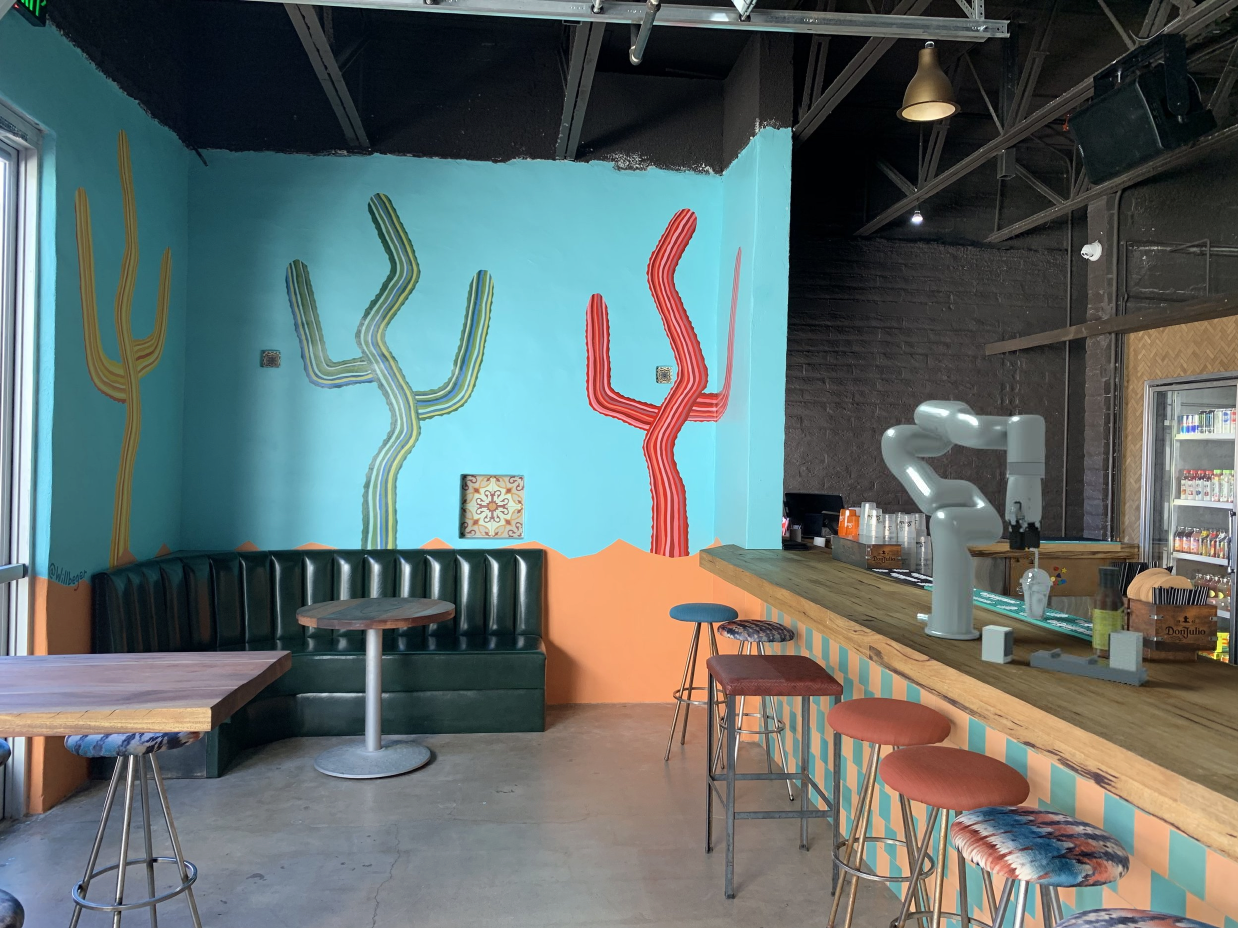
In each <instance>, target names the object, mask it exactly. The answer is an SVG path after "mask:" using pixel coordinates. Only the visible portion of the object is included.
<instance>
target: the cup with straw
mask: <svg viewBox="0 0 1238 928" xmlns="http://www.w3.org/2000/svg"><path fill="white" fill-rule="evenodd" d="M1026 549H1027V550H1028V551H1033V552H1035V555H1034V557H1035V558H1034V559H1035V560H1034V568H1030V569H1028V570H1025V572H1024V574H1023V576H1022V578H1020V579H1019V581H1018V582H1019V583H1021V584H1022V585H1021V586H1022V592H1023V595H1024V609H1025V614H1026V617H1025V618H1027V619H1031V620H1036V619H1037V621H1039V620H1041V621H1043V620H1045V616H1046V612H1047V610H1046V609H1047V606H1048V605H1047V604H1048V598H1049V595H1050V594H1049V593H1050V590H1051V586H1054V581H1053V580H1051V578H1050V576H1049V574H1048V572H1046V570H1044V569H1041V568H1039V551H1038V548H1026Z"/></svg>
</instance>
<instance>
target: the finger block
mask: <svg viewBox="0 0 1238 928" xmlns="http://www.w3.org/2000/svg"><path fill="white" fill-rule="evenodd" d="M1014 633H1015V632H1014V631H1013V628H1012V627H1005V626H1000V625H994V624H993V625H992V624H990V625H987V626H984V627H982V637H981V638H982V639H981V641H982V642H981V644H982V645H981V661H982V660H983V661H987V662H991V663H998V664H1001V665H1002V664H1005V663H1006V664H1007V663H1008V662H1011V661H1012V656H1013V655H1014V635H1015V634H1014Z"/></svg>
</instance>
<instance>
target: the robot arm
mask: <svg viewBox="0 0 1238 928" xmlns="http://www.w3.org/2000/svg"><path fill="white" fill-rule="evenodd" d="M913 419H914V422H915V424H900V425H895V426H892V427H890V428H888V429H886V431H884V433H883V435H882V437H881V442H880V443H881V444H880V445H881V453H882V457H883V460H884V463H885V464H886V467H887V468H888V469H889V471H890V472H891V473H892V475H894V476H895V478H896V479H898V481H899V482H900V483H901V484H902V486H903V487H904V488H905V490H906V491H907V493H908V494H909V495H910V497H911V499H913V501H914V503H915V504H916V505H917V506H918V508H919V509H920V510H921V511H922V513H924V514H925V515H927V516H931V517H930V519H929V533H930V534H929V535H930V539H931V545H932V590H931V592H932V593H931V594H932V595H931V596H932V597H931V613H928V614H927V613H921V612H918V614H917V616H916V619H917V622H918V623H919V622H921V623H926V624H927V625H926V626H925V627H924V633H926V634H927V635H929V636H933V637H935V638H942V639H949V640H962V641H963V640H975V639H978V638H979V637H980V631H978V630H976V629H974V596H975V594H974V593H975V590H974V589H975V563H974V559H973V557H972V555H971V553H970V551H969V549H968V547H969V546H970V547H972V546H989V545H994V544H995V543H997V542H998V541H999V540H1000V539H1001V538H1002V535H1003V532H1004V528H1003V527H1004V526H1003V521H1002V519H1001V516H1000V515H999V513H998V511H997V510H996V509H995V507H994V506H993V505H992V504H991V503H990V502H989V500H988V499H987V498H986V496H985V495H984V494H983V493H982V492H981V490H980V489H979V488H978V486H976V485H975V484H974V483H972V482H970V481H967V480H963V479H946V478H943V477H942V478H941V477H940V475H938V474H937V473H936V472H935V470H934V469H933V468H932V466H931V465H929V463H927V462H926V461H924V460H923V459H921V458H920V457H922V458H923V457H924V458H925V457H927V458H929V457H930V458H934V457H940V456H942V455H944V454H946V453H947V452H948V451H949V450H950V449H951V448H952V447H953V446H955V444H956V445H960V446H964V447H966V448H967V447H968V448H972V449H981V450H982V449H984V450H988V449H989V450H1006V478H1007V479H1008V480H1007V487H1006V488H1007V489H1006V497H1005V521H1007V522H1008V524H1009V526H1008V531H1009V534H1008V535H1009V537H1008V539H1009V541H1008V543H1009V544H1008V545H1009V547H1008V548H1009V550H1010V551H1021V552H1023V551H1026V549H1027V548H1034V549H1040V547H1041V523H1040V522H1041V519H1042V511H1043V510H1042V509H1043V506H1042V505H1043V498H1042V482H1041V479H1045V478H1046V477H1045V476H1046V475H1045V472H1046V471H1045V470H1046V469H1045V467H1046V464H1045V462H1046V459H1045V457H1046V455H1045V453H1046V450H1045V449H1046V448H1045V447H1046V441H1045V440H1046V434H1045V433H1046V422H1045V419H1044V417H1043V416H1041V415H1039V414H1017V415H1012V416H999V415H998V416H997V415H977V414H976V413H975V411H973V409H972V408H971V407H970V406H969V404H967V403H966V402H963V401H958V400H940V399H939V400H937V399H936V400H935V399H934V400H933V399H932V400H926V401H924V402H922V403H920V404H919V405H918V406H917V407H916V409H915V410H914V414H913ZM967 546H968V547H967Z"/></svg>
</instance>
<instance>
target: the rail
mask: <svg viewBox="0 0 1238 928" xmlns="http://www.w3.org/2000/svg"><path fill="white" fill-rule="evenodd" d="M1143 635H1144V633H1143V632H1137V631H1136V632H1135V631H1131V630H1125V631H1124V630H1115V631H1113V632H1111V633H1110V634H1108V658H1107V660H1109V661H1106V660H1101V659H1098V658H1099V656H1098V655H1095V654H1093V655H1091V656H1089V657H1082V656H1078V655H1071V654H1065V653H1062V648H1056V649H1053V650H1051V651H1047V650H1041V649H1040V650H1038V651H1035V652H1032V653H1031V654H1030V661H1029V662H1030V664H1029V666H1030V667H1033V668H1039V669H1044V670H1049V671H1055V672H1059V671H1060V672H1059V673H1064V674H1069V675H1071V674H1072V675H1074V676H1075V675H1077V676H1082V677H1086V676H1087V677H1086V678H1091V677H1092V678H1091V679H1097V678H1099V679H1098V680H1102V679H1104V680H1103V681H1108V680H1111V681H1110V682H1113V681H1116V682H1115V683H1118V682H1121V683H1120V684H1124V683H1127V684H1126V685H1129V684H1131V685H1130V686H1134V685H1135V687H1139V686H1142V685H1143V684H1144V683H1146V682H1147V681H1148V668H1147V667H1143V641H1144V640H1143V638H1144V637H1143ZM1145 681H1146V682H1145ZM1142 683H1143V684H1142Z"/></svg>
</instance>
